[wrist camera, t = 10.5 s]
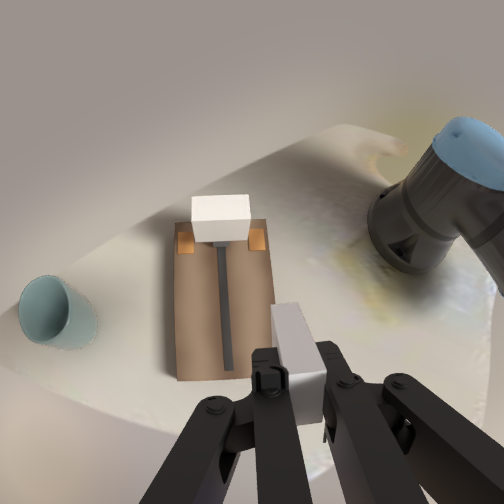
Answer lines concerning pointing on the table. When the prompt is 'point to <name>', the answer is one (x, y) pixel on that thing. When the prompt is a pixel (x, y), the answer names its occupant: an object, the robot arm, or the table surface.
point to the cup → (56, 314)
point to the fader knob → (221, 218)
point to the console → (221, 303)
